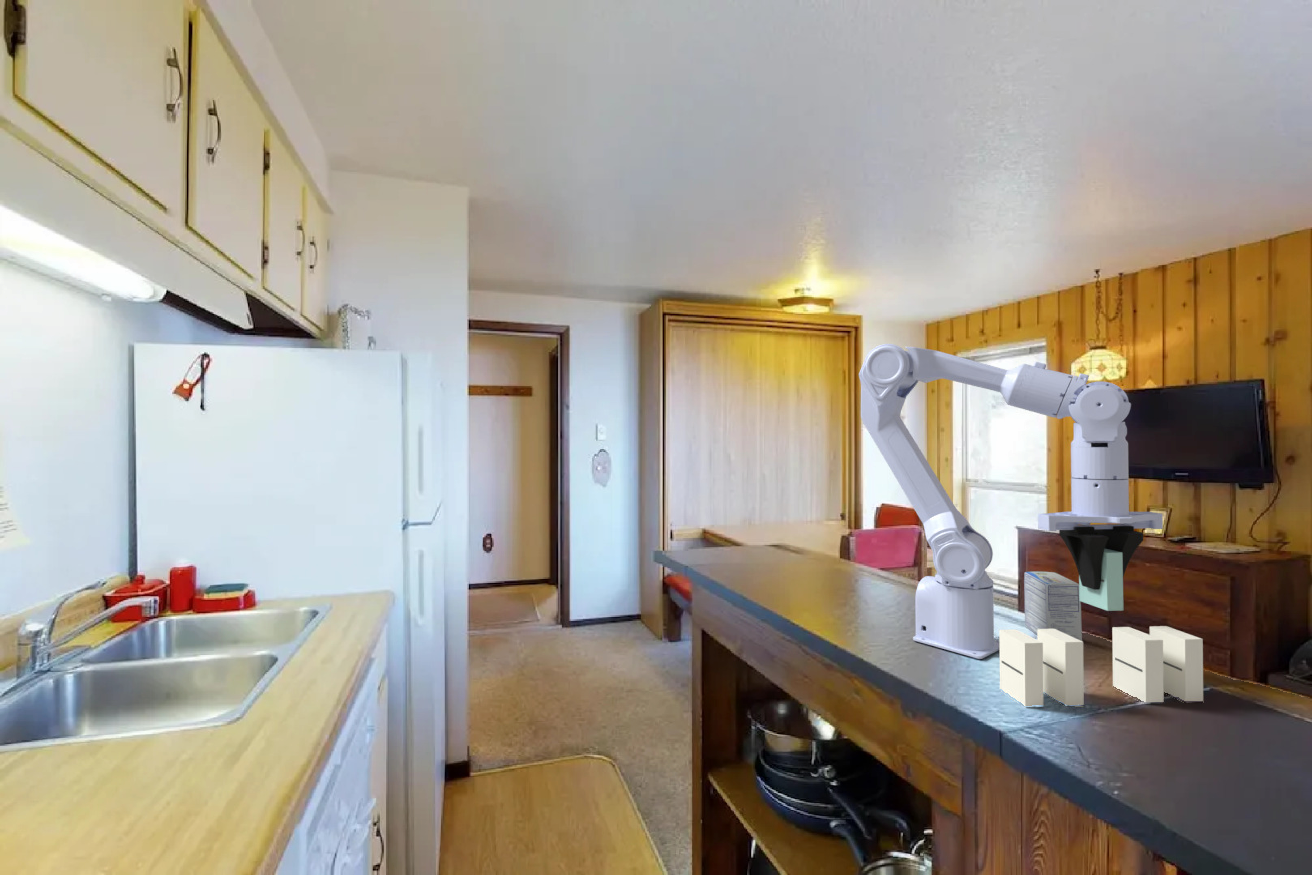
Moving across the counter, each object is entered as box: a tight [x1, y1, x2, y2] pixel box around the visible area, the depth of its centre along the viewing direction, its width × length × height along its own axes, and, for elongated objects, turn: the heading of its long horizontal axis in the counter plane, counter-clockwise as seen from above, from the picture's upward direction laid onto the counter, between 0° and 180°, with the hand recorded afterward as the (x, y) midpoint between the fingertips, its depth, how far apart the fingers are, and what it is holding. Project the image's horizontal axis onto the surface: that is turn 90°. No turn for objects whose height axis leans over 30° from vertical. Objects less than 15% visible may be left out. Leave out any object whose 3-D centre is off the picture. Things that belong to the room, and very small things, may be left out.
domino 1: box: [998, 629, 1044, 706], centre depth 66 cm, size 2×4×7 cm, turn 2°
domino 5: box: [1149, 625, 1204, 702], centre depth 66 cm, size 2×4×7 cm, turn 2°
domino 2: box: [1036, 629, 1085, 706], centre depth 66 cm, size 2×4×7 cm, turn 2°
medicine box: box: [1023, 571, 1083, 642], centre depth 86 cm, size 8×4×9 cm, turn 168°
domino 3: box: [1078, 549, 1124, 612], centre depth 73 cm, size 2×4×7 cm, turn 3°
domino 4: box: [1111, 626, 1165, 703], centre depth 66 cm, size 2×4×7 cm, turn 2°
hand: (1100, 587), depth 73 cm, fingers closed on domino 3, 2 cm apart
